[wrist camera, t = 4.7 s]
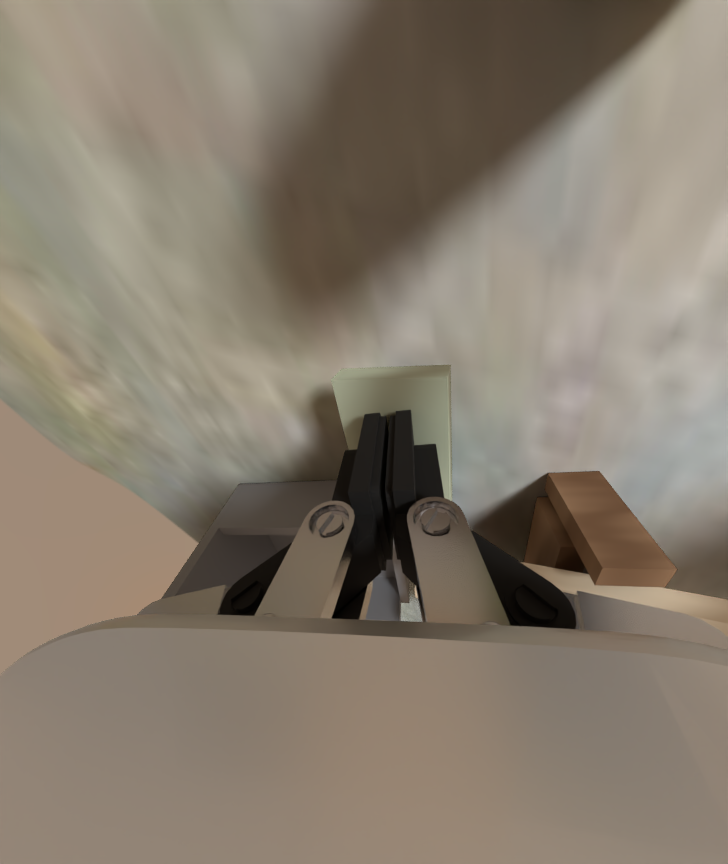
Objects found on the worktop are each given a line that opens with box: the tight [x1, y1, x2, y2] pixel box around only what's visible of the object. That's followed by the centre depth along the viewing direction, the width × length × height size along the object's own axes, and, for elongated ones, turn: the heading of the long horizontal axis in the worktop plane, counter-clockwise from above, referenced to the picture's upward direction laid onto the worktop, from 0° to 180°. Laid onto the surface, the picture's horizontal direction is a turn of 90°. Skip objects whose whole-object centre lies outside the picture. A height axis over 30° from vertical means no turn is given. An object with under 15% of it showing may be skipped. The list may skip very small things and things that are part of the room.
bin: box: [161, 480, 409, 621], centre depth 18 cm, size 10×10×8 cm
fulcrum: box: [524, 471, 677, 587], centre depth 16 cm, size 3×10×5 cm, turn 10°
